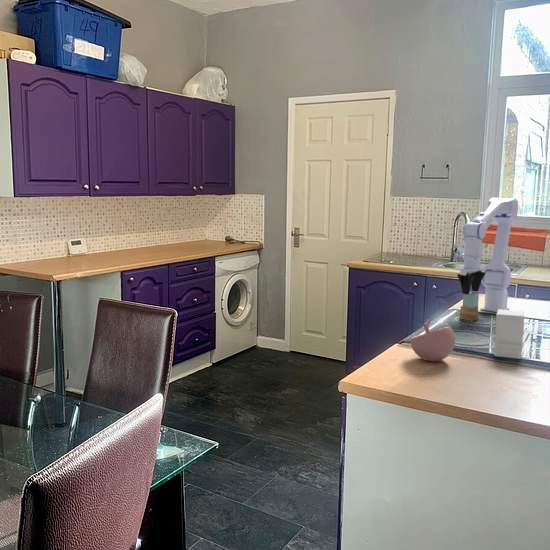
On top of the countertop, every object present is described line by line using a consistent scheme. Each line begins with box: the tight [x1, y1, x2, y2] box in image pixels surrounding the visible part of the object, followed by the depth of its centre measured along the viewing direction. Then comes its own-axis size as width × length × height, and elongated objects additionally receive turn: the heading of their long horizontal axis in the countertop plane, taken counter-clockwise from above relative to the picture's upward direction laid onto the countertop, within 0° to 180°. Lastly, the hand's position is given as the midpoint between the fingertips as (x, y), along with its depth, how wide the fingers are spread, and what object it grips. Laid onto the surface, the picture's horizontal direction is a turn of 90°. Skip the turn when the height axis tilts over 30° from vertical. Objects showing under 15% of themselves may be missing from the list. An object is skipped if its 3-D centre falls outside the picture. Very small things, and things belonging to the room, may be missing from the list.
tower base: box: [459, 312, 480, 322], centre depth 207 cm, size 5×5×2 cm
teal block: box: [462, 291, 480, 308], centre depth 206 cm, size 4×4×5 cm
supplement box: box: [494, 309, 525, 360], centre depth 163 cm, size 7×7×13 cm
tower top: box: [459, 304, 479, 315], centre depth 207 cm, size 5×5×2 cm
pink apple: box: [409, 319, 456, 362], centre depth 157 cm, size 12×12×12 cm
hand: (470, 292), depth 206 cm, fingers open, 7 cm apart
